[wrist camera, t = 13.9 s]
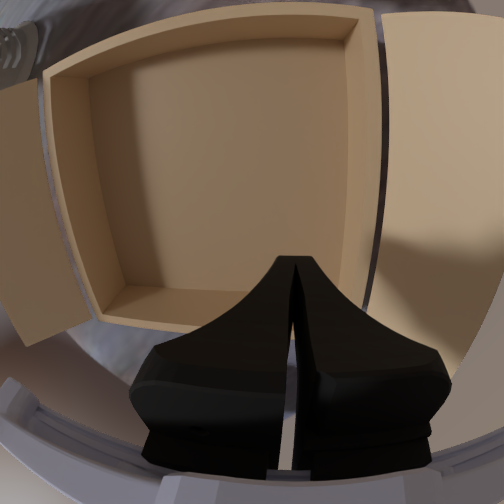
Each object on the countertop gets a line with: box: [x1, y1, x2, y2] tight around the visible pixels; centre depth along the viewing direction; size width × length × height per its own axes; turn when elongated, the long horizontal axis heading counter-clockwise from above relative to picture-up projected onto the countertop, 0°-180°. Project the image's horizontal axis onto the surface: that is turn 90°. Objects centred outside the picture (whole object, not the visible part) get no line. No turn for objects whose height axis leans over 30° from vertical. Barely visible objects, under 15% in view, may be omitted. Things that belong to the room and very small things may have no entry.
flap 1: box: [0, 78, 92, 347], centre depth 14 cm, size 19×7×1 cm
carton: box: [43, 2, 382, 340], centre depth 16 cm, size 20×20×5 cm
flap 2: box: [366, 11, 504, 380], centre depth 10 cm, size 19×7×1 cm
